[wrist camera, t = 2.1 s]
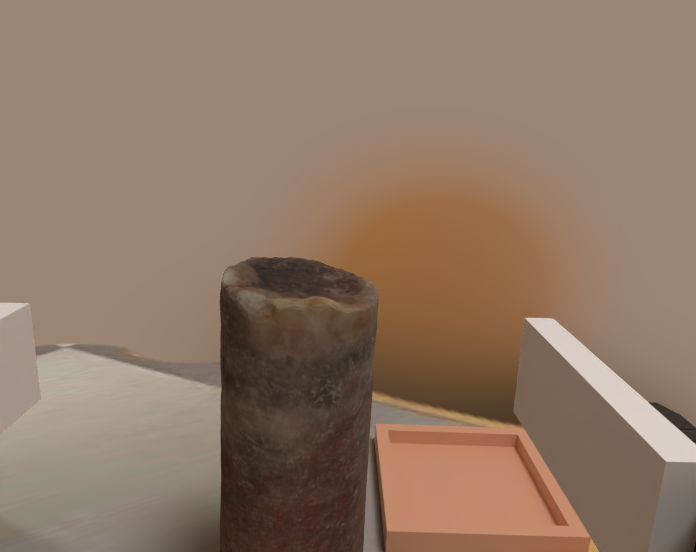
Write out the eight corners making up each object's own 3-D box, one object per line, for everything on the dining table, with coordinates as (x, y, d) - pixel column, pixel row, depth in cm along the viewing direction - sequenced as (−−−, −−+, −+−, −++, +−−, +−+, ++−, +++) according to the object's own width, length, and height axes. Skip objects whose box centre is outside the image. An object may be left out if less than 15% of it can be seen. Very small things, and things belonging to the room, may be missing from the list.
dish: (385, 554, 35) (386, 531, 35) (374, 442, 48) (375, 423, 47) (586, 560, 35) (590, 537, 35) (522, 447, 48) (525, 428, 47)
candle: (303, 555, 35) (310, 247, 30) (389, 631, 30) (416, 277, 25) (193, 625, 30) (179, 267, 24) (275, 732, 25) (279, 310, 19)
